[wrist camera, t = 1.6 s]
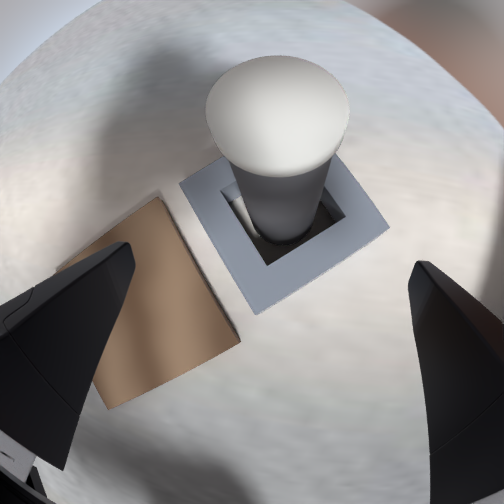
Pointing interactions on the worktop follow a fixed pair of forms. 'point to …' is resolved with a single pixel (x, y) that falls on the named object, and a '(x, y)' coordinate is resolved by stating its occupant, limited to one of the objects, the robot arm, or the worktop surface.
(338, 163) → the blue-grey square ring
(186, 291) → the pad
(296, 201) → the plug
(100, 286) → the robot arm
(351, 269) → the worktop surface
